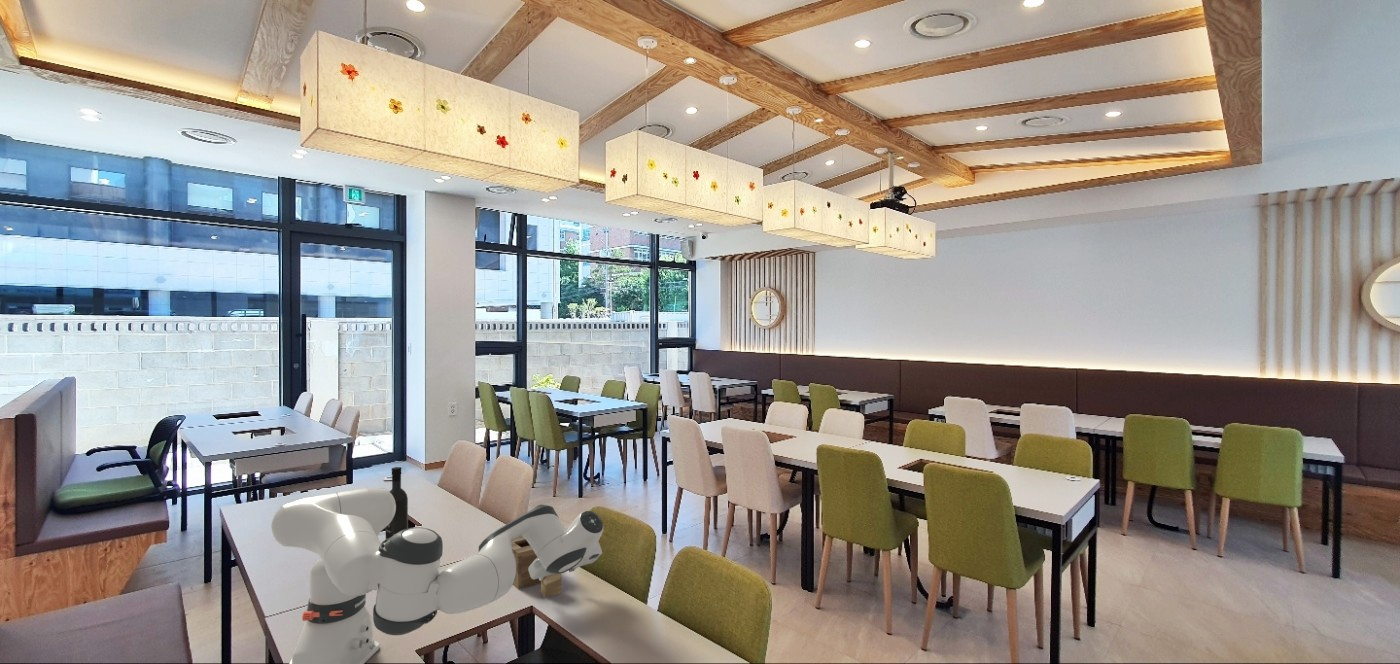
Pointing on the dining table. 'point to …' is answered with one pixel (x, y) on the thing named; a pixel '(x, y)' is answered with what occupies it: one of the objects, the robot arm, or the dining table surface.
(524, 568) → the slot box
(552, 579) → the domino block
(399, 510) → the wine bottle
